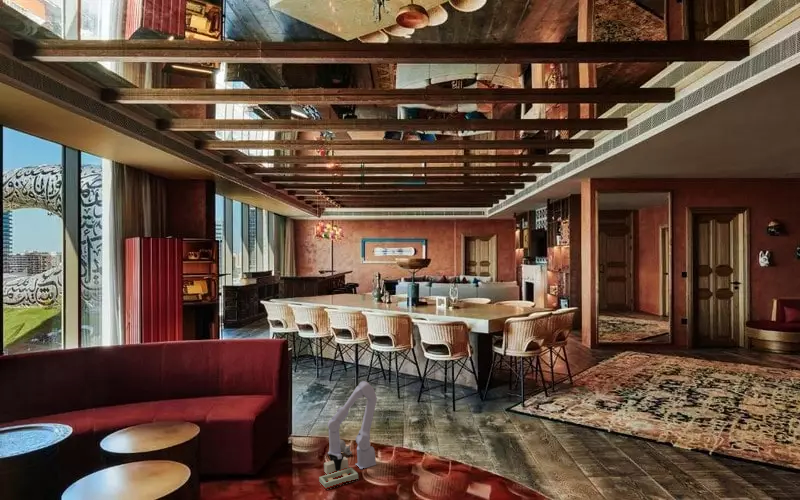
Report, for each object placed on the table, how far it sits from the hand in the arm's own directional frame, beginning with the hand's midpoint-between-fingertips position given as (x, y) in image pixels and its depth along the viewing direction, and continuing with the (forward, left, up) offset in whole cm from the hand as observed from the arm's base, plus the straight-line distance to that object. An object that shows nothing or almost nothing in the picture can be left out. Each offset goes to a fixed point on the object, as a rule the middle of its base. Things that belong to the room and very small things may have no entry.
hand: (336, 468), depth 229 cm
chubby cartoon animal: (-10, -18, -2) cm, 21 cm away
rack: (+3, +12, -1) cm, 12 cm away
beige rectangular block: (0, 0, -2) cm, 2 cm away
